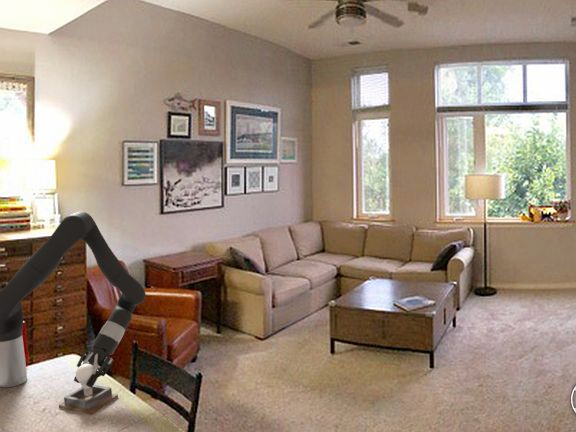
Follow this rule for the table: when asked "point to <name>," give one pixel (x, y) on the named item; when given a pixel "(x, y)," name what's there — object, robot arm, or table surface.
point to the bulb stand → (88, 400)
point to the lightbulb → (85, 377)
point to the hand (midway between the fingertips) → (82, 383)
